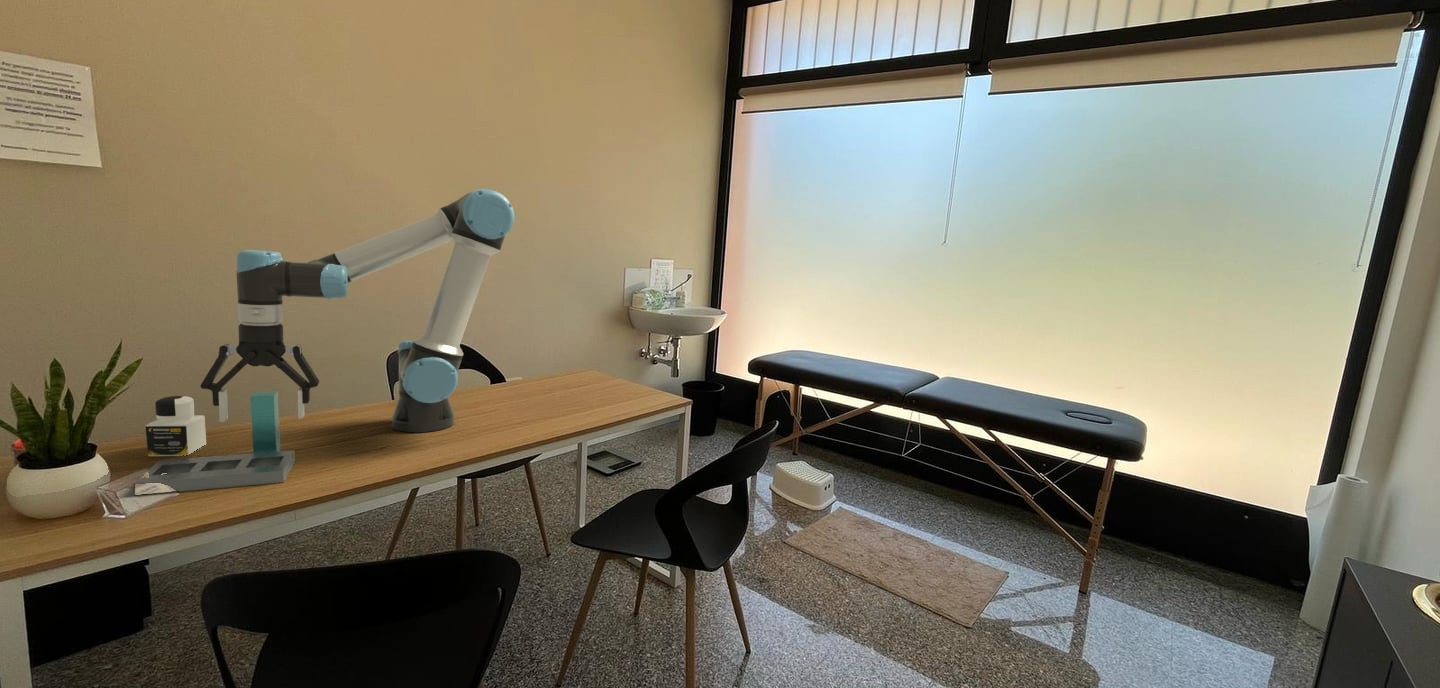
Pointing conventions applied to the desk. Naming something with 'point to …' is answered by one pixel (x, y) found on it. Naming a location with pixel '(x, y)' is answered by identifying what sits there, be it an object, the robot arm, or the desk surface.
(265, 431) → the peg
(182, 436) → the medicine bottle
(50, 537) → the desk surface
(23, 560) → the desk surface
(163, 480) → the rail
